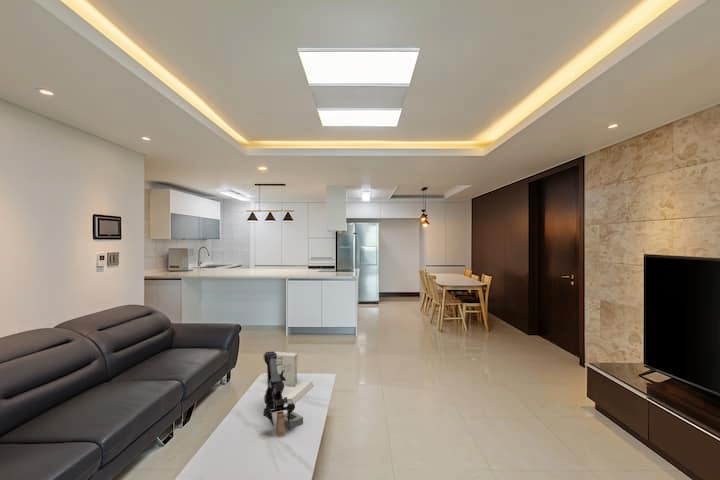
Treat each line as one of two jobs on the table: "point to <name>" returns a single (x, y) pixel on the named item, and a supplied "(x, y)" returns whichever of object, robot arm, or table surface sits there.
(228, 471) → the table surface
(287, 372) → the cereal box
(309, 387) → the decorative molding
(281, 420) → the brown wooden block
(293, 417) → the grey block with slot
